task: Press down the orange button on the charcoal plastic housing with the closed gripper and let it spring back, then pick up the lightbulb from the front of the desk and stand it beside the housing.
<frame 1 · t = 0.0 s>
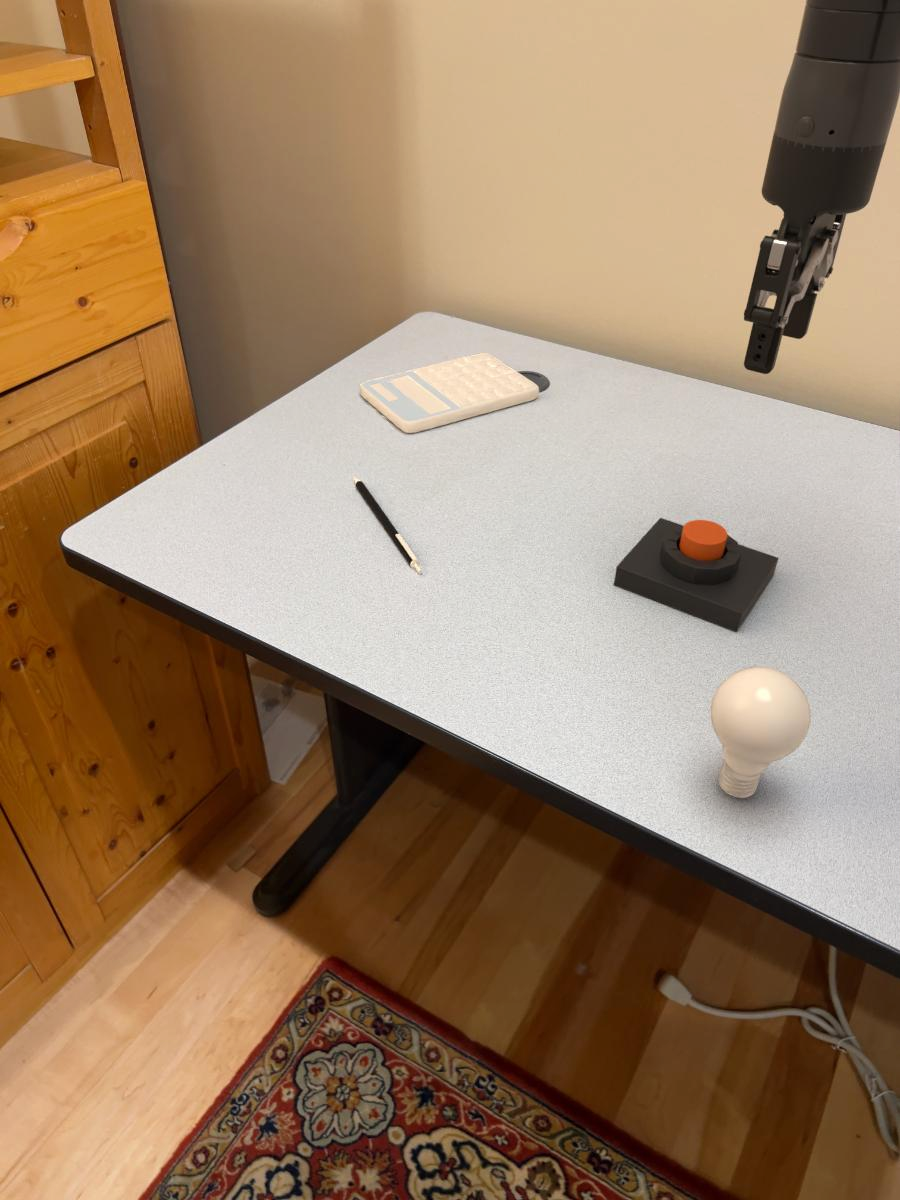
hand: (775, 352, 72), 22 cm above the table, tool pointing down, fingers open, 8 cm apart
calculator: (448, 398, 114), on the table
pen: (384, 526, 91), on the table
button: (703, 540, 81), point 5 cm above the table, slide at 0.1 cm
housing: (694, 580, 84), on the table
lightbulb: (734, 790, 64), on the table
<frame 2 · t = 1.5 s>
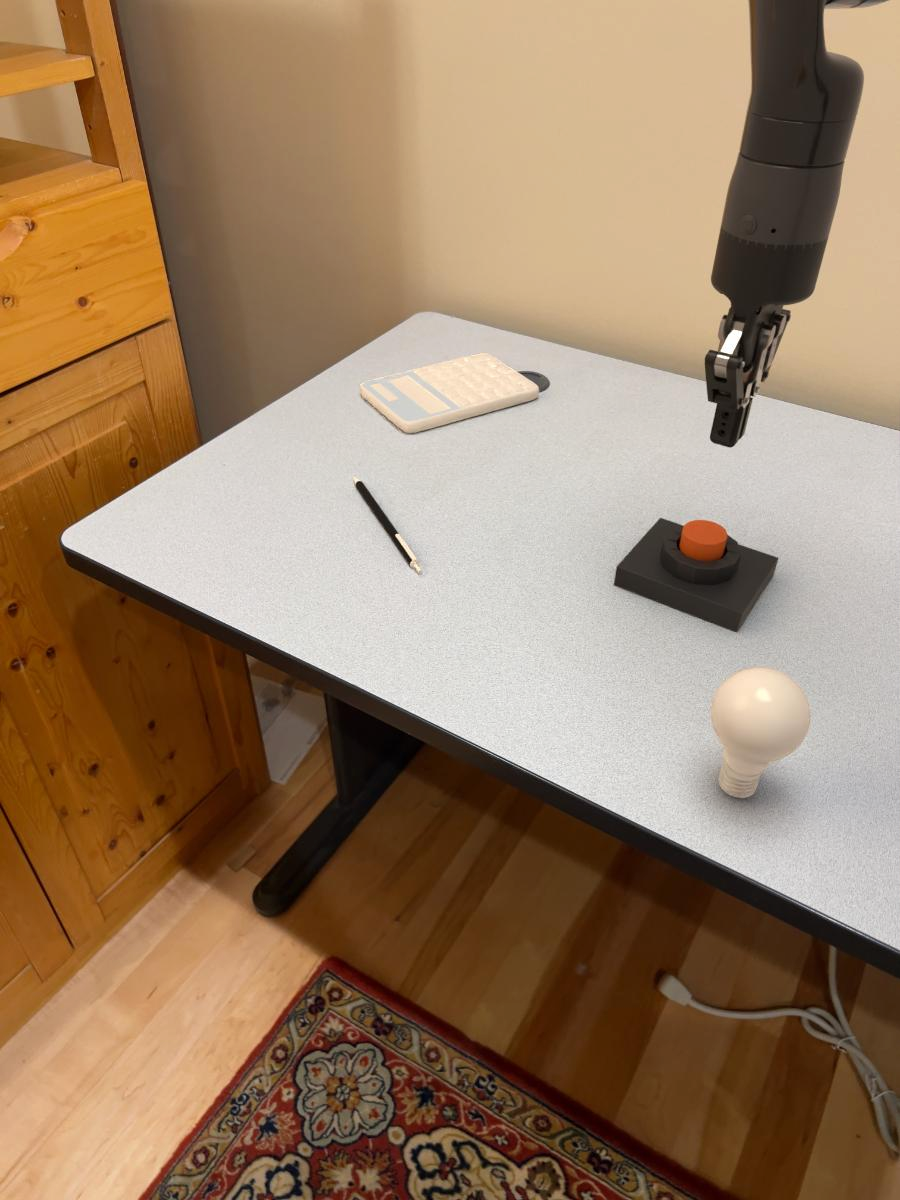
hand: (726, 439, 74), 15 cm above the table, tool pointing down, fingers closed
nothing on the table moved.
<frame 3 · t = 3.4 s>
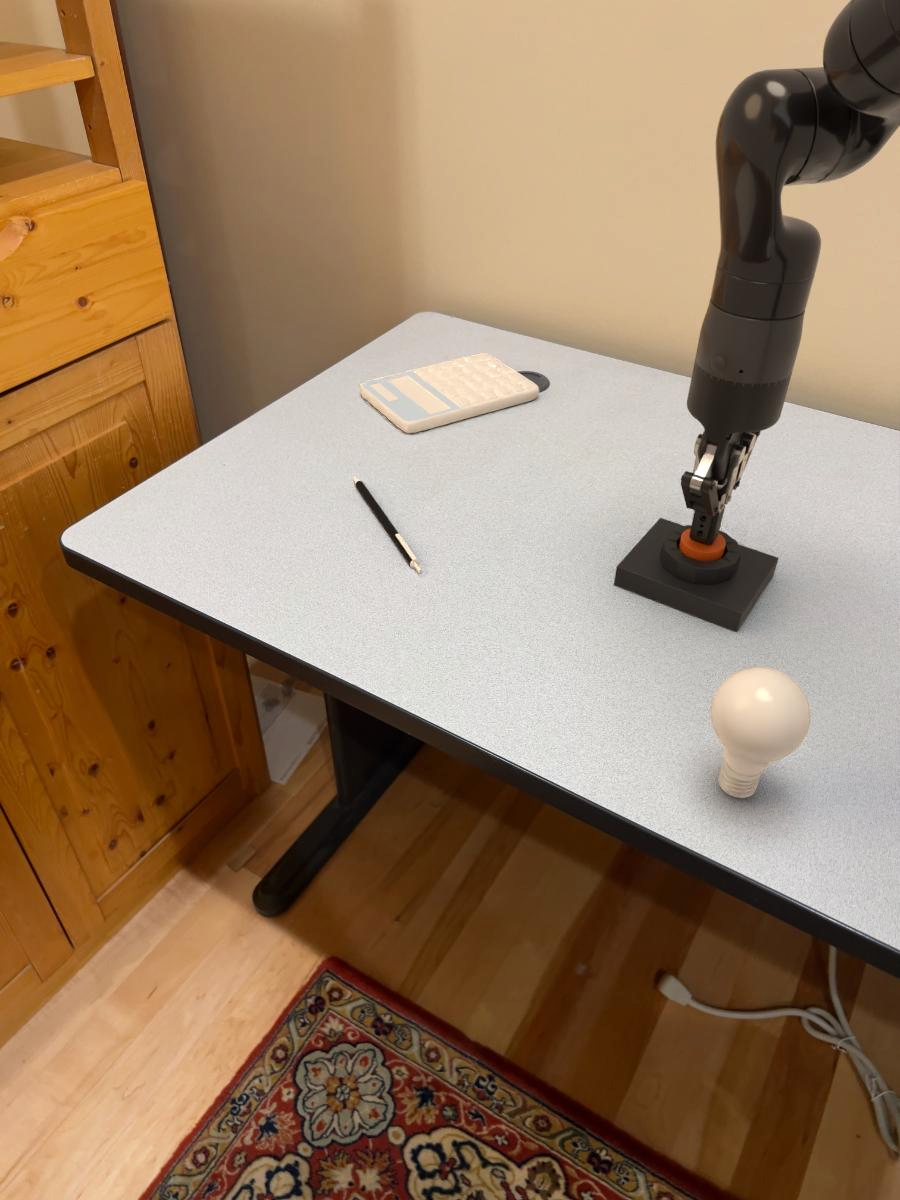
hand: (702, 538, 81), 5 cm above the table, tool pointing down, fingers closed
button: (701, 548, 81), point 4 cm above the table, slide at -0.8 cm, touching gripper
everything else where it was.
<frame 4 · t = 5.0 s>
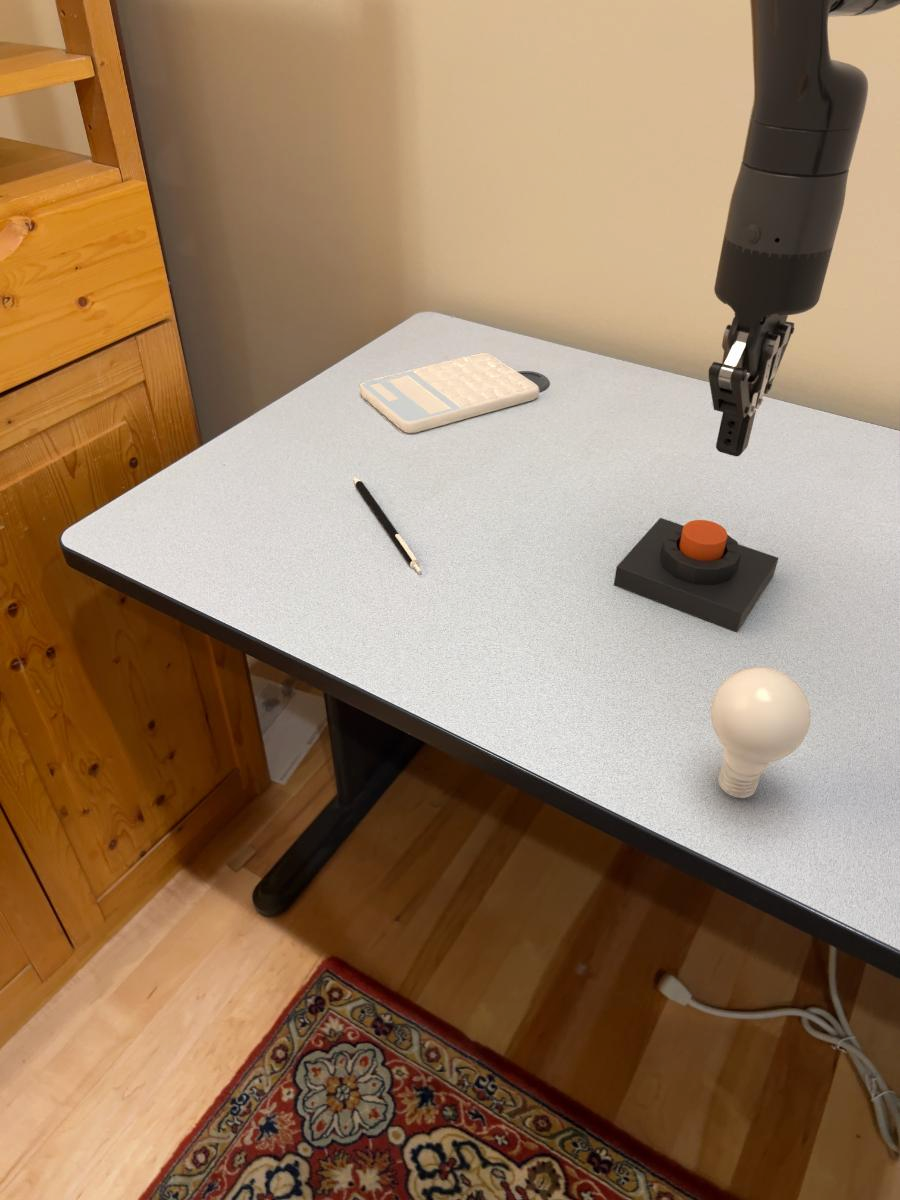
hand: (730, 450, 73), 15 cm above the table, tool pointing down, fingers closed
button: (703, 540, 81), point 5 cm above the table, slide at 0.1 cm
everything else where it was.
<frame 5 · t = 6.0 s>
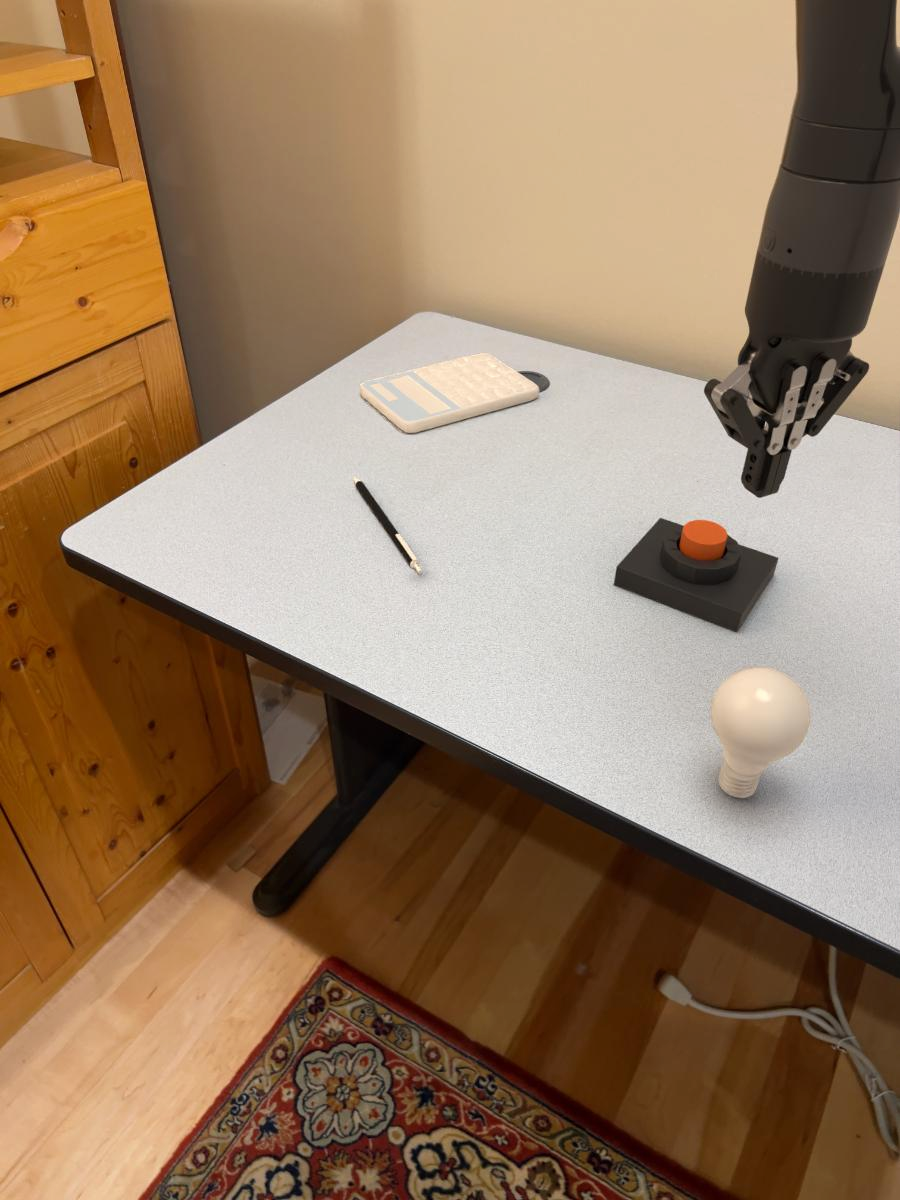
hand: (759, 490, 65), 17 cm above the table, tool pointing down, fingers closed
nothing on the table moved.
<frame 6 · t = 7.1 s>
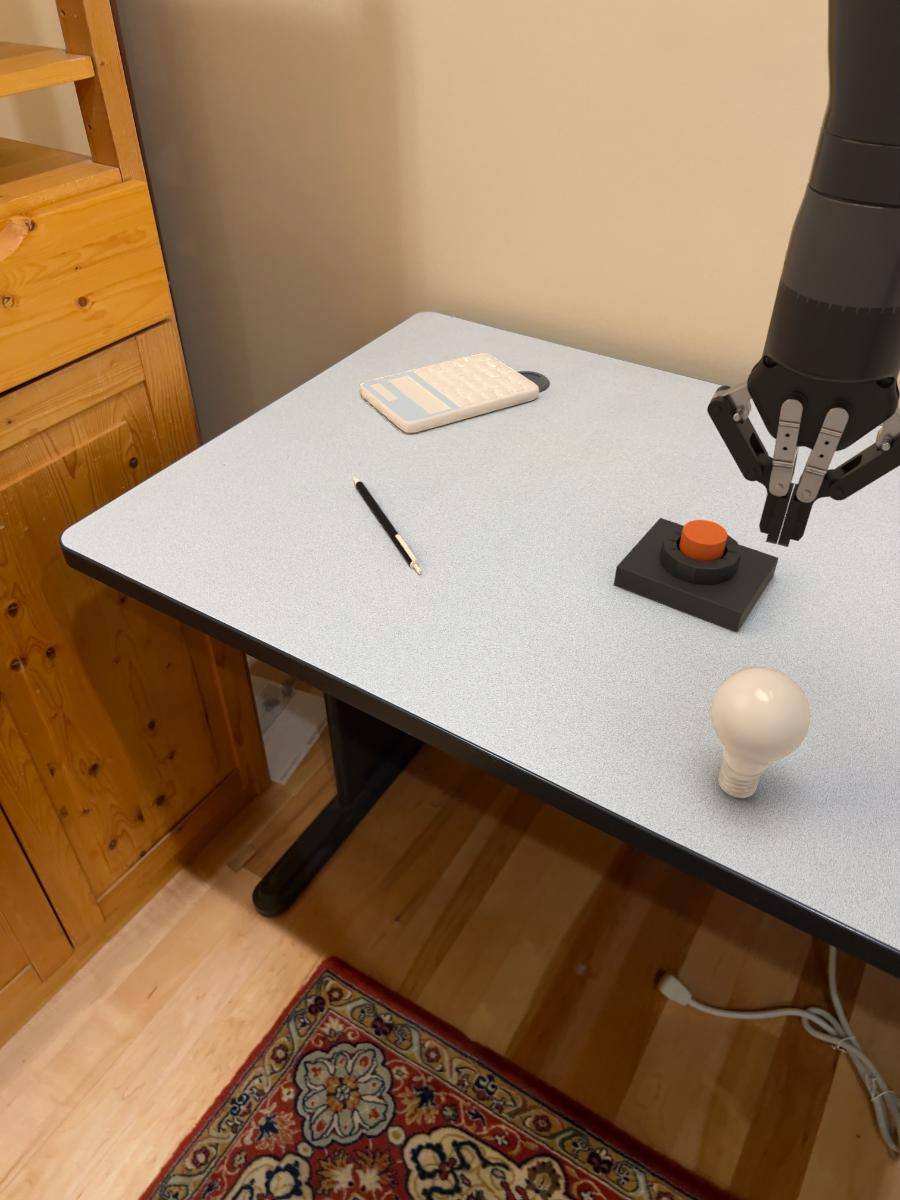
hand: (779, 538, 59), 17 cm above the table, tool pointing down, fingers closed
nothing on the table moved.
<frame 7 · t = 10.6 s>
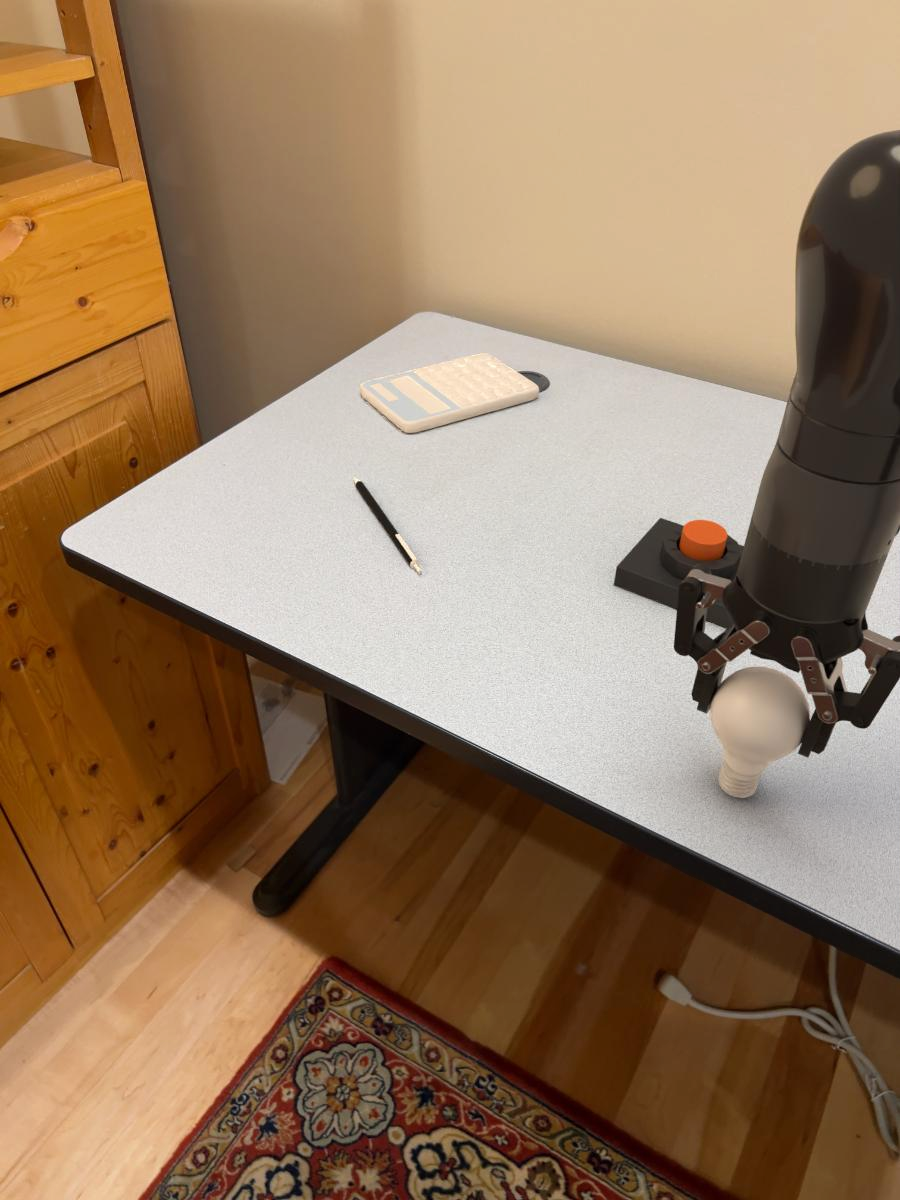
hand: (755, 725, 60), 7 cm above the table, tool pointing down, fingers closed on lightbulb, 6 cm apart
lightbulb: (734, 790, 64), on the table, touching gripper
everything else where it was.
when the fingers open (7 cm above the table, at t = 17.1 s): lightbulb stays where it is, on the table.
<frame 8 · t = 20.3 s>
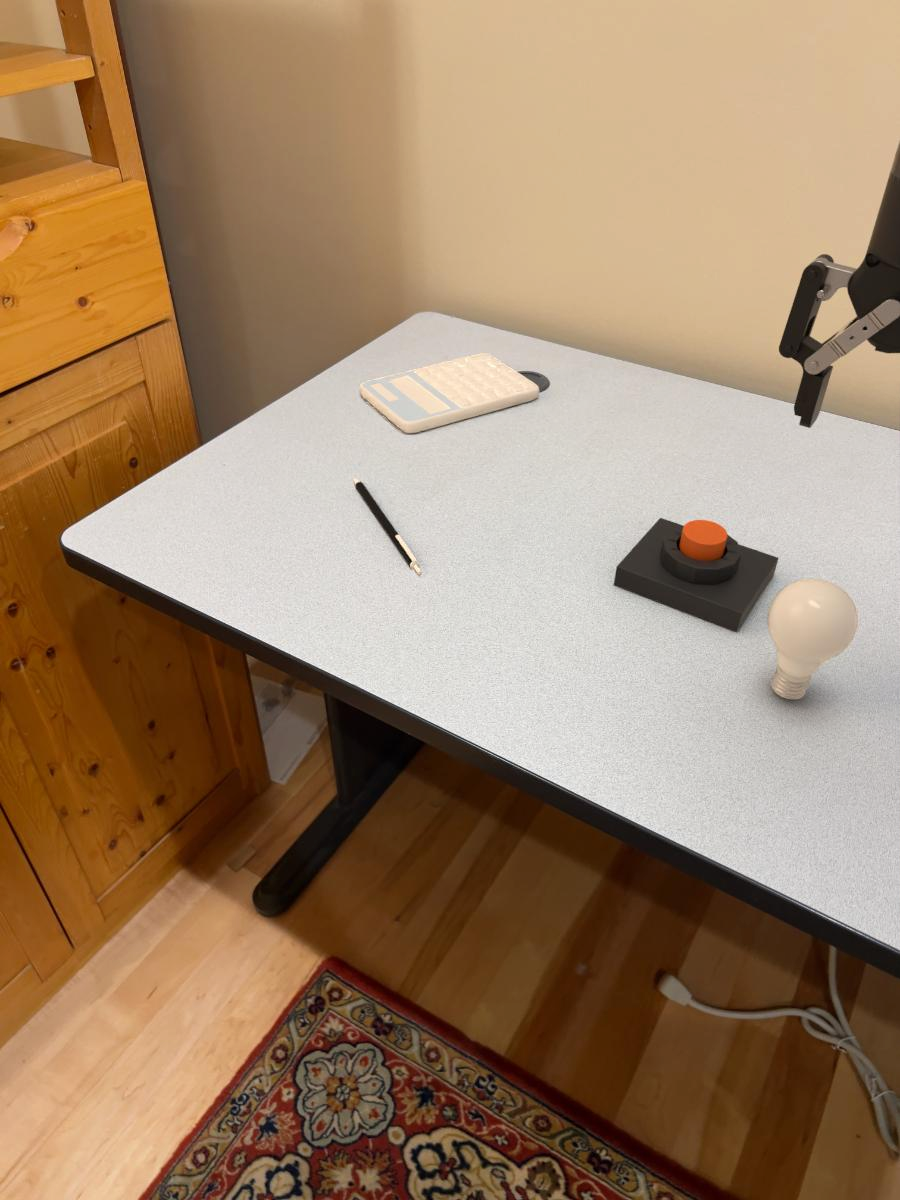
hand: (874, 440, 58), 23 cm above the table, tool pointing down, fingers open, 8 cm apart
lightbulb: (785, 695, 72), on the table
everything else where it was.
at the end: button pushed in 1.0 cm at the most during the clip, back to where it started at the end; button slide at 0.1 cm; lightbulb 0.1 cm from the target spot on the table beside the housing, on the table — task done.
